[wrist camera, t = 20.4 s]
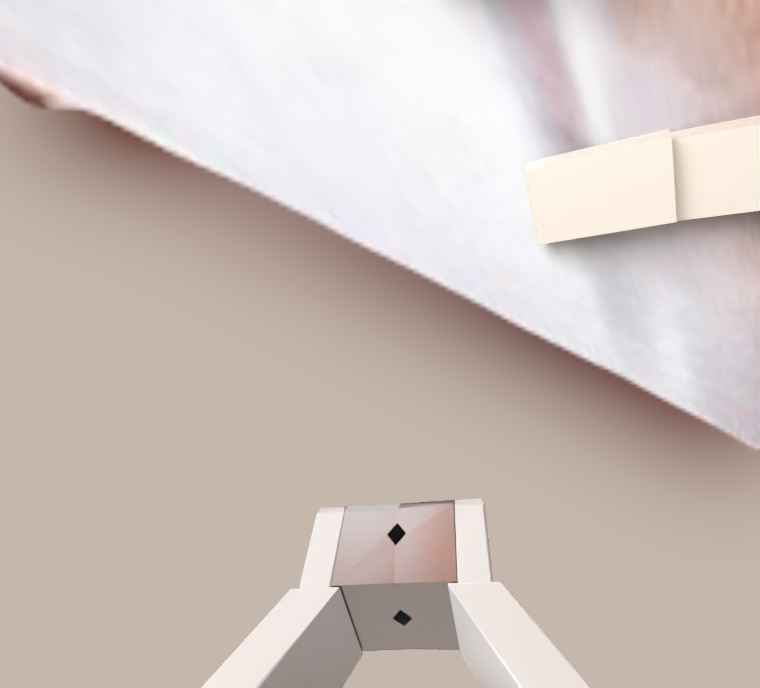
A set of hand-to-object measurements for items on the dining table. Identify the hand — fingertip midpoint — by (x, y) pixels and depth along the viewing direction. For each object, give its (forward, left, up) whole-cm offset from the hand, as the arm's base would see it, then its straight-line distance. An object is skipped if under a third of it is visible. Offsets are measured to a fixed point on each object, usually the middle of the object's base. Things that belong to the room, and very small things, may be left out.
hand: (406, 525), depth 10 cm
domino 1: (-7, +4, -28) cm, 29 cm away
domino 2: (-13, +3, -28) cm, 31 cm away
